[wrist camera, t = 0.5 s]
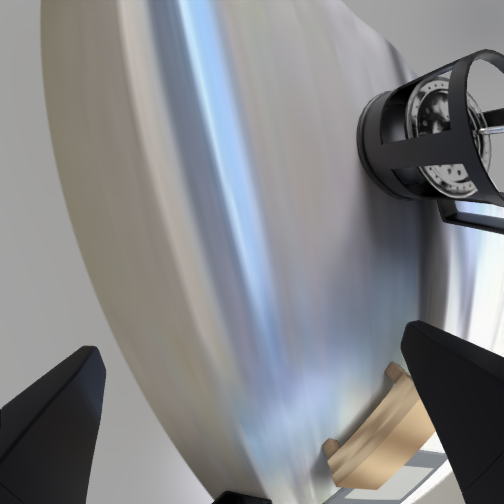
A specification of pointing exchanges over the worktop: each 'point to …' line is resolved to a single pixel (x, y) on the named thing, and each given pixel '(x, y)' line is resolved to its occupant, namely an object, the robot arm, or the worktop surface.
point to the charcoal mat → (395, 482)
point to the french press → (437, 143)
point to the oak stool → (382, 437)
